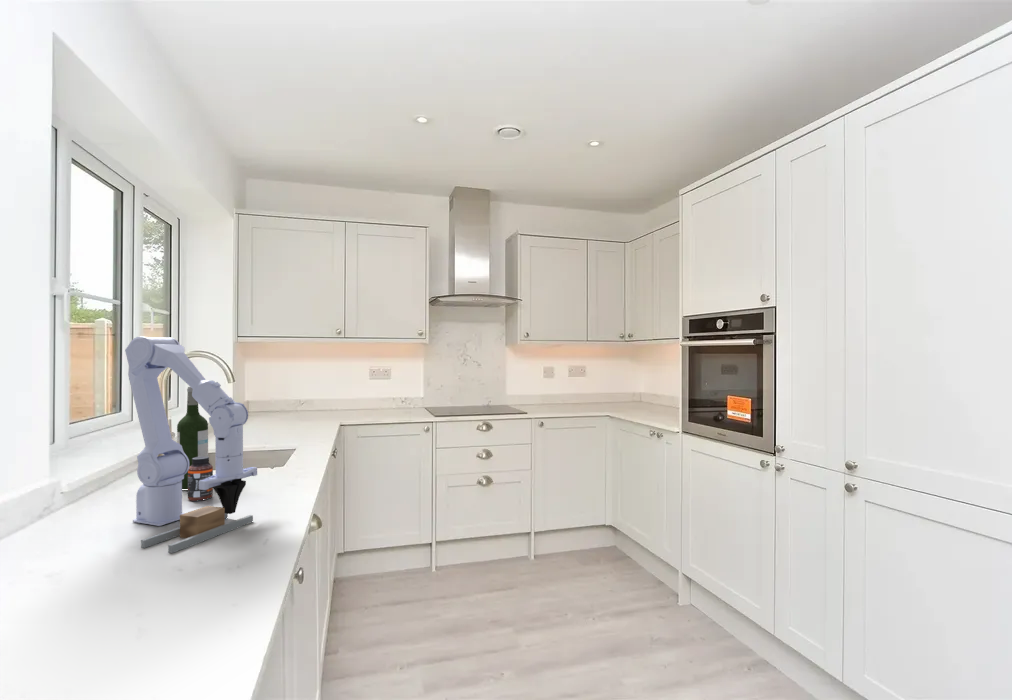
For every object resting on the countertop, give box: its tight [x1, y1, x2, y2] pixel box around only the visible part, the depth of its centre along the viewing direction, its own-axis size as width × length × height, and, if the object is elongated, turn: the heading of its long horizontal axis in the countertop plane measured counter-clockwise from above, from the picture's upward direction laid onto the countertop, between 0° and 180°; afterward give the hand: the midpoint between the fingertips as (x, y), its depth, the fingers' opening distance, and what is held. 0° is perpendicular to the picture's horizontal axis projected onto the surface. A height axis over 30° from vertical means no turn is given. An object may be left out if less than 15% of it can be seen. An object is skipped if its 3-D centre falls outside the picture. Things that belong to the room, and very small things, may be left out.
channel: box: [140, 513, 254, 554], centre depth 114 cm, size 9×20×2 cm, turn 160°
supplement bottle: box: [187, 456, 214, 502], centre depth 141 cm, size 6×6×11 cm
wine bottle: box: [176, 386, 209, 489], centre depth 153 cm, size 8×8×30 cm
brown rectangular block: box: [179, 505, 225, 539], centre depth 114 cm, size 5×7×5 cm
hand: (229, 512), depth 121 cm, fingers closed
